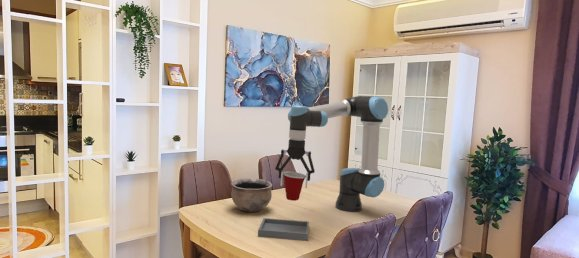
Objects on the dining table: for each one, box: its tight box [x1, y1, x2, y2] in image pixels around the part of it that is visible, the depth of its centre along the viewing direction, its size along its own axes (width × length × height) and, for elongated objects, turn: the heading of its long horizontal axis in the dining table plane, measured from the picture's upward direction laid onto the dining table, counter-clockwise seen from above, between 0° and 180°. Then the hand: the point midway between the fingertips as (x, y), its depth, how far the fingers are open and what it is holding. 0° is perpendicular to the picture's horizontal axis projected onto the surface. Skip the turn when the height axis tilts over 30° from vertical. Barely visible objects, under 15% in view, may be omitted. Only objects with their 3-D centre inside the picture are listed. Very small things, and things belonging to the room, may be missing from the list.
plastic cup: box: [283, 171, 306, 202], centre depth 167 cm, size 11×11×12 cm
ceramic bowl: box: [230, 178, 273, 213], centre depth 195 cm, size 22×22×15 cm
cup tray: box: [257, 217, 310, 242], centre depth 166 cm, size 22×16×3 cm
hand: (293, 186), depth 167 cm, fingers closed on plastic cup, 11 cm apart
